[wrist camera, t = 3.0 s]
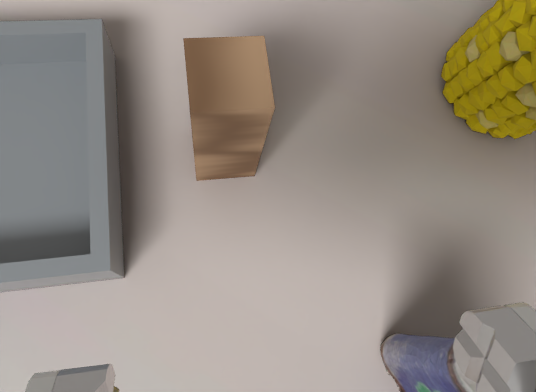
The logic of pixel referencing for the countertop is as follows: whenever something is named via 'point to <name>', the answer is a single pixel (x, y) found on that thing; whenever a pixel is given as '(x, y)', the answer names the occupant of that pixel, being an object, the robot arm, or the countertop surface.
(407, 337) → the flask
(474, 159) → the countertop surface
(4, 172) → the bin
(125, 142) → the countertop surface
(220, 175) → the block
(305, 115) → the countertop surface
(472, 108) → the food
